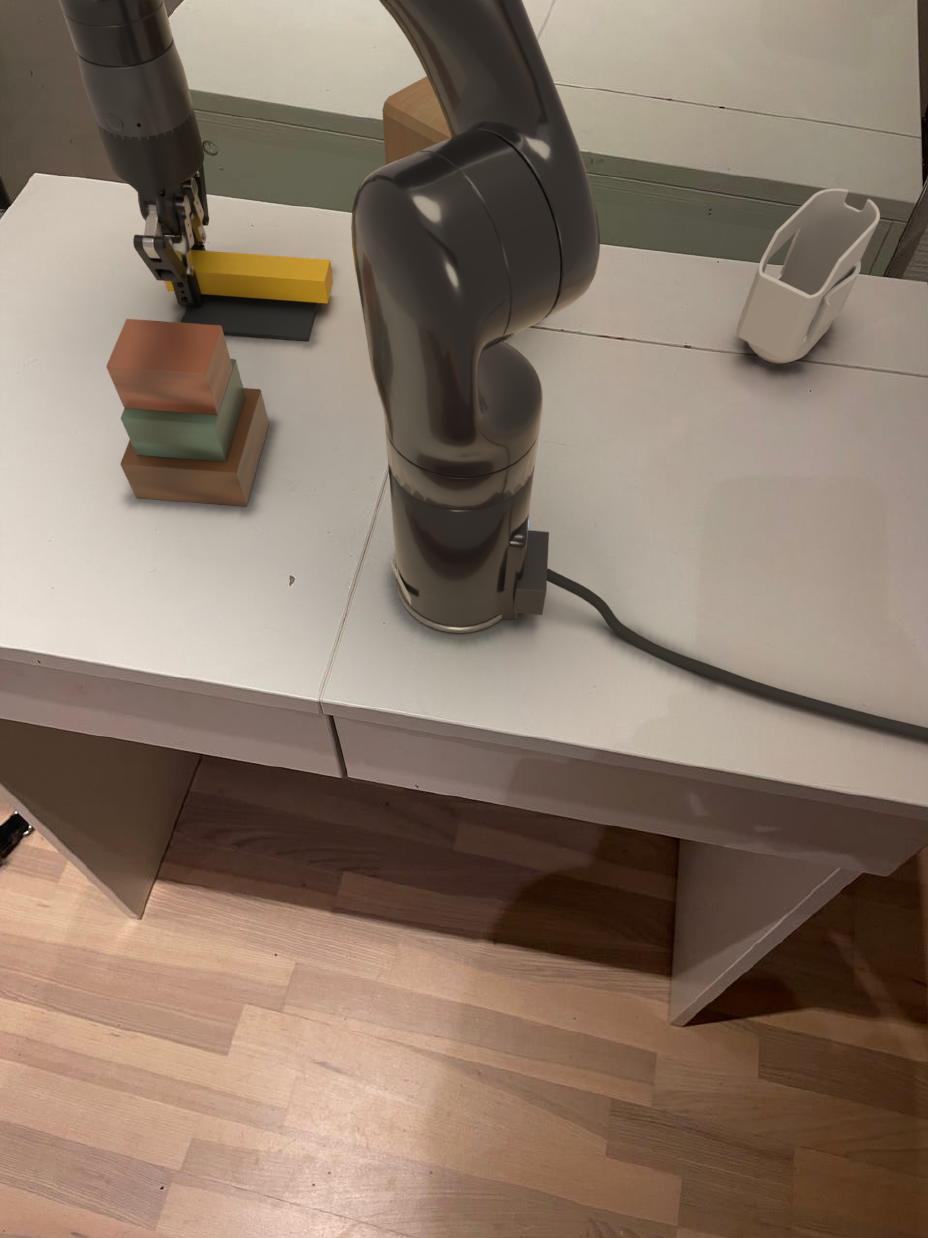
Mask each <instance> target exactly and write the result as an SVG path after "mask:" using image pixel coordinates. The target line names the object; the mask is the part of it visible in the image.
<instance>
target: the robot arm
mask: <svg viewBox="0 0 928 1238" xmlns="http://www.w3.org/2000/svg"><path fill="white" fill-rule="evenodd" d="M378 1H379V3H380V4H381V5H382V7H384V9H385V11H387V12H388V14H389V16H391V18H392V19H393V20H394V21H395V23H396V25H397V26H398V27H399V29H400V30H401V32H402V33H403V34H404V36H405V38H406V39H407V41H408V43H409V44H410V46H411V48H412V50H413V51H414V53H415V55H416V57H417V59H418V61H419V62H420V65H421V67H422V69H423V71H424V73H425V76H427V77H428V79H429V81H430V83H431V86H432V88H433V90H434V92H435V95H436V97H437V99H438V102H439V104H440V107H441V109H442V112H443V114H444V117H445V119H446V122H447V125H448V128H449V131H450V134H451V136H452V138H449V139H447V140H444V141H442V142H440V143H437V144H435V145H432V146H430V147H428V148H425V149H423V150H420V151H418V152H415V153H413V154H411V155H409V156H406V157H404V158H401V159H399V160H397V161H394V162H392V163H390V164H387V165H386V164H385V165H383V166H381V167H379V168H377V169H375V170H374V171H372V172H370V173H369V174H368V175H366V177H365V178H364V179H363V180H362V181H361V183H360V185H359V186H358V189H357V190H356V191H357V192H356V194H355V197H354V199H353V206H352V211H351V223H350V231H351V248H352V254H353V261H354V262H353V263H354V271H355V276H356V281H357V287H358V292H359V298H360V305H361V309H362V310H361V311H362V315H363V322H364V330H365V337H366V343H367V351H368V357H369V362H370V368H371V372H372V376H373V380H374V383H375V387H376V390H377V394H378V397H379V400H380V404H381V407H382V411H383V419H384V428H385V430H384V431H385V441H386V452H387V454H386V455H387V464H388V465H387V467H388V475H389V476H388V477H389V478H388V479H389V491H390V503H391V505H390V506H391V512H392V513H391V515H392V528H393V543H394V552H395V553H394V554H395V564H394V562H393V561H392V558H390V557H389V559H390V567H391V569H392V572H393V574H394V575H395V578H396V581H395V582H396V588H397V593H398V597H399V599H400V601H401V602H402V605H403V606H404V607H405V609H406V610H407V611H408V612H409V614H411V616H412V617H414V618H415V619H416V620H417V621H418V622H421V623H423V625H425V626H427V627H429V628H432V629H435V630H437V631H441V632H446V633H454V634H466V633H473V632H478V631H481V630H484V629H486V628H490V627H491V626H493V625H495V624H497V623H498V622H500V621H501V620H516V619H517V618H518V614H526V615H539V616H542V615H543V613H544V606H545V601H546V595H547V588H548V587H547V585H548V582H549V583H550V584H552V585H555V586H557V587H559V588H560V589H562V590H565V591H567V592H569V593H571V594H573V595H575V596H576V597H579V598H580V599H582V600H583V601H585V602H587V603H588V604H589V605H590V606H592V607H593V608H595V610H596V611H598V613H599V614H600V615H601V617H602V618H603V619H604V621H605V623H606V624H607V625H608V627H609V628H610V629H611V630H612V631H613V632H614V633H615V634H617V635H618V636H620V637H621V638H623V639H624V640H625V641H627V642H629V643H630V644H631V645H633V646H635V647H637V648H638V649H640V650H642V651H645V652H646V653H648V654H650V655H653V656H654V657H657V658H659V659H661V660H663V661H665V662H668V663H671V664H673V665H676V666H679V667H682V668H684V669H686V670H690V671H693V672H695V673H699V674H701V675H704V676H707V677H709V678H712V679H715V680H718V681H720V682H723V683H725V684H728V685H731V686H734V687H736V688H739V689H742V690H745V691H748V692H751V693H754V694H757V695H760V696H762V697H766V698H769V699H772V700H775V701H779V702H782V703H786V704H789V705H792V706H796V707H799V708H803V709H806V710H810V711H813V712H817V713H820V714H823V715H824V714H825V715H828V716H831V717H834V718H839V719H843V720H846V721H849V722H853V723H857V724H861V725H864V726H869V727H873V728H876V729H881V730H884V731H888V732H892V733H897V734H901V735H905V736H909V737H913V738H918V739H921V740H927V741H928V727H926V726H922V725H918V724H913V723H910V722H904V721H901V720H897V719H896V720H895V719H892V718H887V717H884V716H880V715H876V714H872V713H868V712H864V711H860V710H857V709H853V708H849V707H845V706H842V705H839V704H835V703H832V702H827V701H824V700H821V699H816V698H813V697H809V696H806V695H802V694H799V693H795V692H792V691H788V690H785V689H781V688H778V687H775V686H771V685H769V684H765V683H764V682H759V681H756V680H754V679H751V678H748V677H745V676H742V675H739V674H736V673H735V672H734V673H733V672H731V671H728V670H725V669H724V668H720V667H717V666H714V665H712V664H709V663H706V662H704V661H700V660H697V659H695V658H692V657H689V656H686V655H683V654H681V653H678V652H676V651H673V650H670V649H669V648H665V647H663V646H661V645H659V644H657V643H655V642H653V641H652V640H651V641H650V640H649V639H647V638H645V637H643V636H642V635H640V634H639V633H637V632H635V631H634V630H632V629H631V628H629V627H628V626H627V625H625V624H624V623H622V622H621V621H620V620H619V618H618V617H617V616H616V615H615V613H614V612H613V611H612V609H611V608H610V606H609V604H608V603H607V602H606V601H605V600H604V599H603V598H602V597H600V596H599V595H598V594H597V593H595V592H593V591H592V590H591V589H589V588H587V587H586V586H584V585H582V584H581V583H579V582H577V581H575V580H572V579H570V578H568V577H566V576H564V575H562V574H560V573H558V572H556V571H554V570H552V569H550V568H548V565H549V564H548V562H549V541H550V540H549V538H550V532H549V531H540V530H529V525H530V519H529V518H530V504H531V497H532V490H533V482H534V474H535V467H536V460H537V451H538V443H539V436H540V429H541V421H542V415H543V405H544V404H543V403H544V393H543V387H542V382H541V380H540V376H539V375H538V372H537V370H536V369H535V367H534V365H533V364H532V363H531V362H530V361H529V359H528V358H527V357H525V356H524V355H523V353H521V352H520V351H519V350H517V349H516V348H515V347H513V346H511V345H510V344H508V343H506V342H504V341H505V340H508V339H510V338H511V337H513V336H515V335H517V334H519V333H520V332H522V331H525V330H526V329H528V328H530V327H532V326H534V325H536V324H537V323H539V322H541V321H543V320H545V319H548V318H550V317H551V316H553V315H555V314H557V313H559V312H560V311H562V310H564V309H566V308H567V307H569V306H571V305H572V304H573V303H575V302H576V301H578V300H579V299H580V298H581V297H583V296H584V295H585V293H587V292H588V290H589V289H590V286H591V284H592V283H593V281H594V279H595V277H596V274H597V270H598V265H599V259H600V253H601V252H600V251H601V250H600V249H601V237H600V224H599V217H598V213H597V207H596V202H595V197H594V194H593V193H594V192H593V189H592V184H591V181H590V178H589V175H588V171H587V167H586V164H585V162H584V159H583V155H582V152H581V150H580V147H579V143H578V142H577V139H576V136H575V134H574V131H573V128H572V125H571V123H570V120H569V117H568V115H567V112H566V109H565V106H564V105H563V102H562V100H561V96H560V94H559V91H558V88H557V86H556V84H555V81H554V79H553V76H552V74H551V71H550V68H549V65H548V63H547V60H546V58H545V56H544V52H543V50H542V47H541V45H540V43H539V39H538V38H537V35H536V32H535V30H534V27H533V25H532V22H531V20H530V16H529V14H528V12H527V9H526V7H525V4H524V2H523V0H378ZM58 3H59V6H60V9H61V12H62V14H63V17H64V21H65V24H66V27H67V29H68V33H69V35H70V36H69V37H70V38H71V42H72V44H73V47H74V50H75V54H76V57H77V61H78V62H77V63H78V66H79V71H80V76H81V77H80V78H81V81H82V84H83V87H84V90H85V93H86V97H87V99H88V103H89V106H90V109H91V111H92V114H93V118H94V121H95V124H96V126H97V130H98V133H99V135H100V138H101V141H102V144H103V147H104V151H105V153H106V156H107V159H108V162H109V164H110V168H111V170H112V172H113V173H114V174H115V176H117V178H119V179H120V180H121V181H123V182H124V183H126V184H127V185H128V186H130V187H132V188H133V189H134V190H135V191H136V193H137V202H138V206H139V211H140V215H141V217H142V219H143V220H144V221H145V226H144V232H143V234H134V235H133V238H132V239H133V241H132V242H133V243H132V244H133V248H134V250H135V251H136V253H137V254H138V255H139V257H140V258H141V260H142V261H143V262H144V264H145V266H146V267H147V268H148V270H149V271H150V272H151V274H152V275H153V277H154V279H155V280H156V281H160V282H164V281H171V282H172V285H173V288H174V292H173V293H174V294H175V298H176V301H177V303H178V305H179V306H181V307H182V308H186V307H191V308H200V307H201V305H202V302H203V297H202V294H201V291H200V288H199V284H198V281H197V277H196V274H195V269H194V265H193V260H192V255H191V250H202V251H207V250H206V245H205V243H207V242H206V241H207V233H206V231H205V227H208V226H209V223H210V214H209V205H208V195H207V188H206V177H205V176H206V175H205V168H204V167H205V166H204V161H205V150H204V145H203V141H202V137H201V133H200V129H199V126H198V120H197V116H196V112H195V109H194V104H193V99H192V96H191V91H190V88H189V83H188V78H187V75H186V72H185V68H184V64H183V62H182V58H181V57H180V53H179V51H178V49H177V46H176V42H175V38H174V36H173V32H172V27H171V24H170V20H169V16H168V12H167V8H166V4H165V0H58ZM175 251H178V252H180V254H181V257H182V260H180V259H179V257H178V256H177V254H176V253H175Z"/></svg>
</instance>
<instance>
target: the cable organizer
mask: <svg viewBox="0 0 928 1238" xmlns="http://www.w3.org/2000/svg"><path fill="white" fill-rule="evenodd" d="M849 192H850V190H849V189H846V188H826V189H822V190H819V191H817V192H815V193H813V194H812V195H811V197H809V198H808V199H807V201H805V202H804V203H803V204H802V205H801V206H800V207H799V208H798V209H797V210H796V211H795V212H794V213H793V214H792V215H791V216H790V217H789V218H788V219H787V220H786V221H785V222H784V223H783V224H782V225H781V226H780V227H778V228H777V230H775V232H774V234H773V235H772V238H771V240H770V241H769V244H768V245H767V247H766V248H765V251H764V253H763V255H762V257H761V259H760V261H759V264H758V266H757V270H756V272H755V275H754V278H753V281H752V284H751V285H750V289H749V292H748V295H747V298H746V301H745V303H744V306H743V309H742V311H741V314H740V317H739V320H738V323H737V326H736V331H735V332H736V335H737V337H738V338H739V339H742V340H743V341H745V342H747V344H748V345H749V347H750V348H751V349H752V351H753V352H754V353H755V354H756V355H757V356H758V357H759V358H760V359H762V360H764V361H766V362H768V363H772V364H786V363H791V362H794V361H797V360H799V359H802V358H803V357H805V355H807V354H808V353H809V352H810V350H812V348H813V347H814V346H815V345H816V344H817V343H818V342H819V340H820V339H821V338H822V337H823V336H824V335H825V333H826V332H827V331H828V330H829V329H830V327H831V325H832V322H833V320H834V319H836V318H837V317H839V315H840V314H841V312H842V311H843V309H844V306H845V304H846V302H847V300H848V298H849V296H850V293H851V291H852V289H853V287H854V285H855V283H856V281H857V279H858V277H859V274H860V272H861V269H862V263H861V260H862V258H863V256H864V254H865V251H866V249H867V248H868V246H869V243H870V241H871V239H872V236H874V235H873V234H874V233H875V231H876V228H877V226H878V224H879V221H880V219H881V211H880V209H879V207H878V206H877V204H875V202H874V201H873V200H872V199H870V198H868V199H867V200H866V202H865V204H864V206H863V208H862V209H861V210H859V209H858V208H855V207H853V206H851V205H848V204H847V203H846V198H847V196H848V194H849ZM792 237H793V238H792ZM791 238H792V241H791V243H790V246H789V248H788V251H787V254H786V257H785V259H784V261H783V265H782V267H781V270H780V273H779V274H778V275H777V276H776V277H773V276H771V275H769V274H767V273H765V271H766V269H767V266H768V263H769V260H770V258H772V256H773V255H775V254H776V252H778V251H779V250H780V248H782V246H784V245H785V244H786V243H787V242H788V240H790V239H791Z"/></svg>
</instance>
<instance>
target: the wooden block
mask: <svg viewBox="0 0 928 1238" xmlns="http://www.w3.org/2000/svg"><path fill="white" fill-rule="evenodd" d="M382 125H383V141H384V158H385V159H384V160H385V165H387V164H390V163H392V162H394V161H397V160H399V159H401V158H404V157H406V156H409V155H411V154H413V153H415V152H418V151H420V150H423V149H425V148H428V147H430V146H432V145H435V144H437V143H440V142H442V141H444V140H447V139H449V138H452V136H451V134H450V131H449V128H448V125H447V122H446V119H445V117H444V114H443V112H442V109H441V107H440V104H439V102H438V99H437V97H436V95H435V92H434V90H433V88H432V86H431V83H430V81H429V79H428V77H427V75H425V76H424V77H422V78H420V79H419V80H417V81H415V82H413V83H411V84H409V85H408V86H406V87H404V88H401V89H400V90H398V91H396V92H395V93H393V94H390V95H389V96H388V97H387V98H386V100H384V102H383V106H382Z"/></svg>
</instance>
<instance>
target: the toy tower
mask: <svg viewBox="0 0 928 1238" xmlns="http://www.w3.org/2000/svg"><path fill="white" fill-rule="evenodd" d="M105 367H106V369H107V372H108V374H109V377H110V379H111V381H112V383H113V386H114V389H115V390H116V392H117V395H118V397H119V399H120V402H121V404H122V407H123V411H122V414H121V416H120V420H121V422H122V425H123V427H124V429H125V431H126V434H127V436H128V438H129V441H128V442H127V445H126V448H125V451H124V454H123V456H122V459H121V461H120V467H121V469H122V471H123V473H124V476H125V477H126V480H127V482H128V484H129V486H130V488H131V490H132V492H133V495H134V497H135V498H137V499H149V500H150V499H151V500H161V501H173V502H174V501H175V502H185V503H199V504H212V505H213V504H214V505H222V506H223V505H225V506H237V507H247V506H248V503H249V500H250V496H251V492H252V488H253V484H254V481H255V477H256V474H257V470H258V466H259V462H260V459H261V455H262V451H263V448H264V444H265V441H266V437H267V434H268V433H267V432H268V430H269V427H270V422H269V418H268V413H267V409H266V405H265V401H264V397H263V392H262V390H261V388H260V389H259V388H248V387H247V388H246V387H244V385H243V381H242V378H241V374H240V370H239V366H238V362H237V359H236V358H231V356H230V352H229V348H228V344H227V341H226V338H225V335H224V333H223V330H222V326H220V325H206V324H192V323H181V322H178V321H165V320H164V321H163V320H151V319H138V318H137V319H136V318H126V320H125V321H124V323H123V325H122V328H121V330H120V333H119V335H118V337H117V340H116V342H115V345H114V347H113V349H112V352H111V354H110V357H109V359H108V361H107V364H106V366H105Z"/></svg>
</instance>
